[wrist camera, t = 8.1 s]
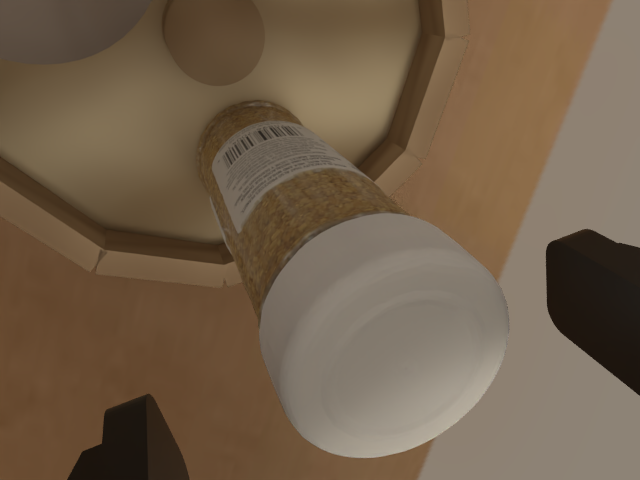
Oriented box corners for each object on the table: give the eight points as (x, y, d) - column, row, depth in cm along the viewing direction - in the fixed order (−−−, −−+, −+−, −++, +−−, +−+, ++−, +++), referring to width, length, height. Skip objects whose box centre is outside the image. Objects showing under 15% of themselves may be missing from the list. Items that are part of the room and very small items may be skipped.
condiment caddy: (448, 176, 25) (491, 202, 22) (62, 309, 22) (51, 360, 19) (393, -353, 17) (451, -427, 14) (-254, -252, 14) (-365, -318, 11)
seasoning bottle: (203, 217, 21) (288, 497, 10) (187, 101, 19) (272, 284, 8) (312, 201, 23) (504, 433, 11) (309, 91, 21) (538, 235, 9)
